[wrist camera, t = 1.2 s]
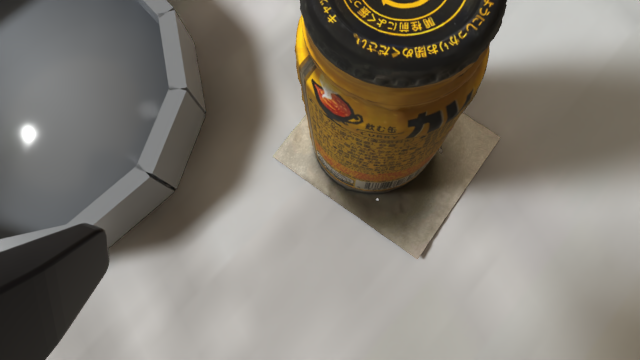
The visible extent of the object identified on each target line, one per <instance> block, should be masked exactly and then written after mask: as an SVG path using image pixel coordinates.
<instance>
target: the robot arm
mask: <svg viewBox="0 0 640 360" xmlns="http://www.w3.org/2000/svg"><path fill="white" fill-rule="evenodd" d="M108 266H109V252H108V241H107V233H106V231H105V230H104V229H102V228H100V227H97V226H94V225H91V224H88V223H81V224H78V225H75V226H72V227H69V228H66V229H64V230H61V231H58V232H55V233H52V234H49V235H47V236H44V237H41V238H38V239H35V240H32V241H30V242H27V243H24V244H21V245H18V246H15V247H13V248H10V249H7V250H4V251H1V252H0V360H45V359H46V358H47V357H48V356H49V355H50V353H51V352H52V351H53V349H54V348H55V347H56V346H57V344H58V343H59V342H60V340H61V339H62V337H63V336H64V335H65V333H66V332H67V330H68V329H69V327H70V326H71V324H72V323H73V321H74V320H75V318H76V317H77V315H78V314H79V312H80V311H81V309H82V308H83V306H84V305H85V303H86V302H87V300H88V299H89V297H90V296H91V294H92V293H93V291H94V290H95V288H96V287H97V285H98V284H99V282H100V281H101V279H102V278H103V276H104V275H105V273H106V271H107V269H108Z"/></svg>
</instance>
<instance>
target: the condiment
mask: <svg viewBox="0 0 640 360" xmlns="http://www.w3.org/2000/svg"><path fill="white" fill-rule="evenodd" d="M506 2H507V0H300V10H301V13H302V15H301V18H300V20H299V23H298V28H297V34H296V46H295V53H296V60H297V63H296V68H297V73H298V79H299V82H300V84H301V87H302V88H301V90H302V100H303V102H304V104H305V111H306V115H305V117H304V118H303V119H302V120H301V122H300V123H299V124H298V125H297V126H296V128H295V129H294V130H293V131H292V132H291V134H290V135H289V136H288V138H287V139H286V140H285V141H284V142H283V144H282V145H281V146H280V148H279V149H278V150H277V151H276V153H275V154H274V155H273V157H274V158H275V159H277V160H278V161H280V162H281V163H282V164H284V165H285V166H286V167H288V168H289V169H291V170H292V171H293V172H295V173H296V174H298V175H299V176H300V177H302V178H303V179H305V180H306V181H308V182H309V183H310V184H312V185H313V186H314V187H316V188H317V189H319V190H320V191H321V192H323V193H324V194H326V195H327V196H329V197H330V198H331V199H333V200H334V201H335V202H337V203H338V204H340V205H341V206H343V207H344V208H345V209H347V210H348V211H350V212H351V213H353V214H354V215H356V216H357V217H359V218H360V219H361V220H363V221H364V222H365V223H367V224H368V225H370V226H371V227H372V228H374V229H375V230H376V231H378V232H379V233H380V234H382V235H383V236H385V237H386V238H388V239H389V240H391V241H392V242H394V243H395V244H397V245H398V246H400V247H401V248H402V249H404V250H405V251H406V252H408V253H409V254H411V255H412V256H413V257H415V258H416V259H418V258H419V256H420V255H421V254H422V252H423V251H424V249H425V248H426V246H427V244H428V243H429V241H430V240H431V239H432V237H433V236H434V234H435V233H436V231H437V230H438V228H439V227H440V225H441V224H442V222H443V221H444V219H445V218H446V217H447V215H448V214H449V212H450V211H451V209H452V207H453V206H454V205H455V203H456V202H457V200H458V199H459V197H460V196H461V195H462V193H463V192H464V190H465V188H466V187H467V186H468V184H469V183H470V181H471V180H472V179H473V177H474V176H475V174H476V173H477V171H478V170H479V168H480V167H481V165H482V164H483V162H484V161H485V159H486V158H487V156H488V155H489V154H490V152H491V151H492V149H493V148H494V147H495V145H496V144H497V142H498V141H499V139H500V138H501V137H499V136H498V135H496V134H495V133H493V132H492V131H490V130H489V129H488V128H486V127H484V126H483V125H481V124H479V123H477V122H476V121H474V120H473V119H471V118H470V117H469V116H467V115H466V114H464V113H463V111H464V110H465V109H466V107H467V106H468V105H469V103H470V102H471V101H472V99H473V98H474V96H475V94H476V93H477V89H478V87H479V85H480V83H481V81H482V79H483V77H484V74H485V71H486V67H487V62H488V57H489V45H490V42H491V41H492V40H493V39H494V37H495V35H496V34H497V32H498V31H499V28H500V26H501V24H502V18H503V16H504V13H505V9H506ZM440 147H441V148H442V153H440V152H439V148H440ZM376 198H378V199H379V201H376Z"/></svg>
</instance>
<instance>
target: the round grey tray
mask: <svg viewBox="0 0 640 360" xmlns="http://www.w3.org/2000/svg"><path fill="white" fill-rule="evenodd" d="M205 112H206V109H205V103H204V97H203V91H202V85H201V79H200V73H199V67H198V61H197V55H196V49H195V43H194V42H193V40H192V38H191V36H190V35H189V33H188V31H187V30H186V28H185V26H184V25H183V23H182V21H181V20H180V18H179V16H178V15H177V13H176V11H175V10H174V8H173V7H172V6H171V5H170V3H169V2H168V1H167V0H0V252H1V251H4V250H7V249H10V248H13V247H15V246H18V245H21V244H24V243H27V242H30V241H32V240H35V239H38V238H41V237H44V236H47V235H49V234H52V233H55V232H58V231H61V230H64V229H66V228H69V227H72V226H75V225H78V224H81V223H88V224H91V225H94V226H97V227H100V228H102V229H104V230H105V231H106V233H107V241H108V247H111V246H112V245H113V244H114V243H115V242H116V241H118V240H119V239H120V238H121V237H122V236H123V235H125V234H126V233H127V232H128V231H129V230H130V229H132V228H133V227H134V226H135V225H136V224H137V223H139V222H140V221H141V220H142V219H143V218H144V217H146V216H147V215H148V214H149V213H150V212H151V211H153V210H154V209H155V208H156V207H157V206H158V205H160V204H161V203H162V202H163V201H164V200H165V199H167V198H168V197H169V196H170V195H171V194H173V193H174V190H173V189H172V187H173V188H176V189H177V187H178V184H179V182H180V179H181V177H182V174H183V172H184V169H185V167H186V164H187V162H188V159H189V156H190V154H191V151H192V149H193V146H194V144H195V141H196V139H197V136H198V134H199V131H200V129H201V126H202V124H203V121H204V119H205V116H206V115H205V114H204V113H205Z"/></svg>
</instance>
